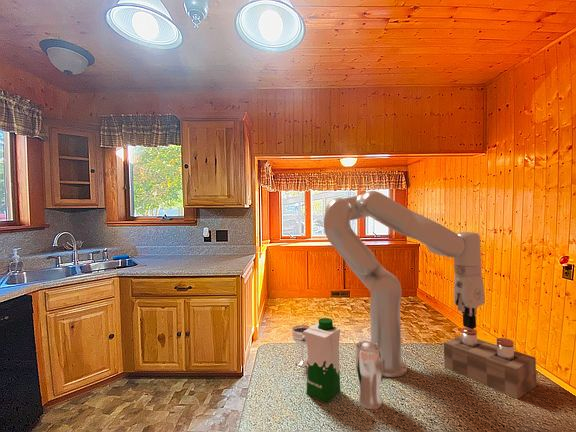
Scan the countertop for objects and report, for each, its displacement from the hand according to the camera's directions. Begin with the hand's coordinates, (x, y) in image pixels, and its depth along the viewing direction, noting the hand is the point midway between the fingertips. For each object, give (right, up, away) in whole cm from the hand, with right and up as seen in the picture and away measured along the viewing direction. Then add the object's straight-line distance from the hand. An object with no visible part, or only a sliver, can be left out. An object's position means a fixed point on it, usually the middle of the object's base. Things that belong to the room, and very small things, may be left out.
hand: (469, 326), depth 93 cm
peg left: (0, -9, 0) cm, 9 cm away
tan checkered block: (+3, -13, -4) cm, 14 cm away
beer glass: (-37, -14, -16) cm, 43 cm away
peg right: (+5, -9, -9) cm, 13 cm away
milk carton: (-49, -15, -11) cm, 52 cm away
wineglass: (-54, -15, +6) cm, 56 cm away
